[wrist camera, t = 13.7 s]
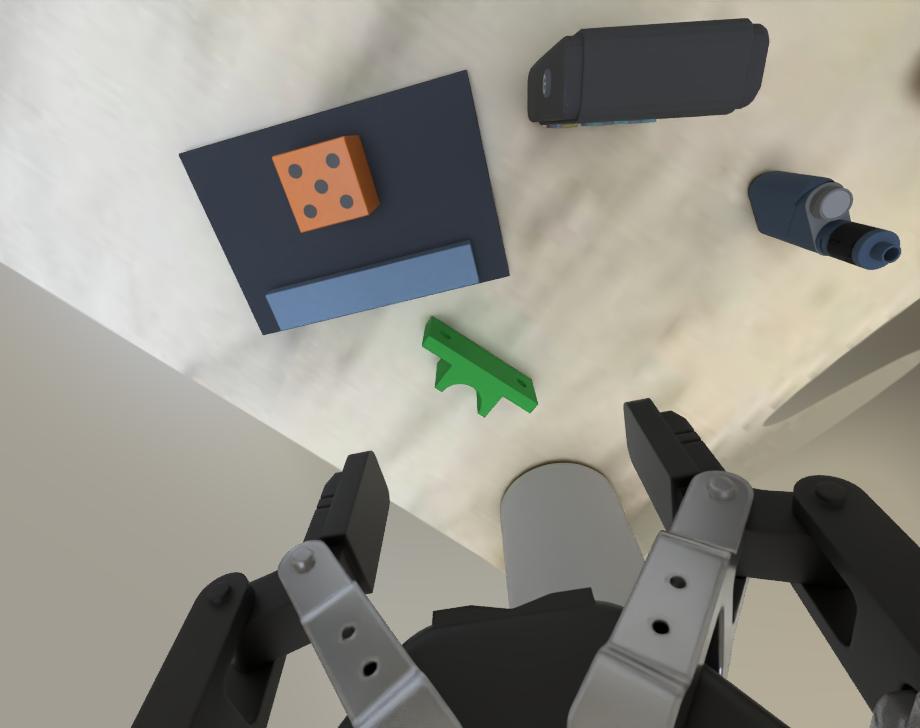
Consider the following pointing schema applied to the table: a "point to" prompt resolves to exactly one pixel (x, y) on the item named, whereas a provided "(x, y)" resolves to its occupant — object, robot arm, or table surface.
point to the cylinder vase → (567, 536)
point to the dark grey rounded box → (648, 73)
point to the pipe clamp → (476, 369)
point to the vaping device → (818, 219)
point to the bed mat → (366, 238)
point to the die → (327, 182)
